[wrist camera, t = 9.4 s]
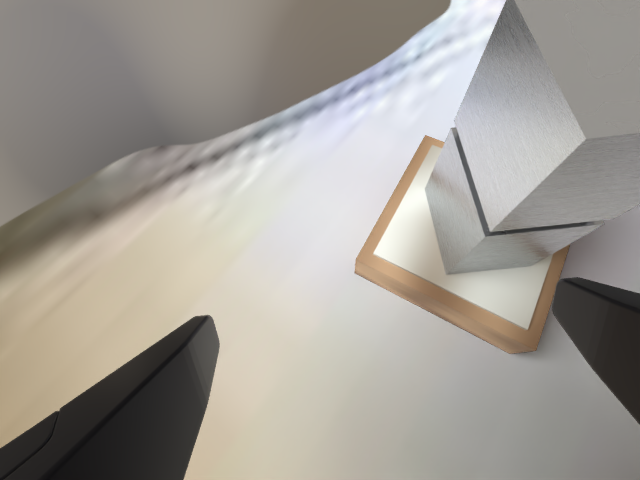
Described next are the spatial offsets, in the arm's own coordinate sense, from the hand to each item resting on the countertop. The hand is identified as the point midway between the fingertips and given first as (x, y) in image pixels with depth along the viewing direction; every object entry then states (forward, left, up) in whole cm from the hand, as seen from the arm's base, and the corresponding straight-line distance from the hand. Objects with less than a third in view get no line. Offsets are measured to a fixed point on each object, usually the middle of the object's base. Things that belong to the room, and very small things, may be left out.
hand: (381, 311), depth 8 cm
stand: (-3, -10, -14) cm, 17 cm away
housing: (-3, -10, -10) cm, 15 cm away
